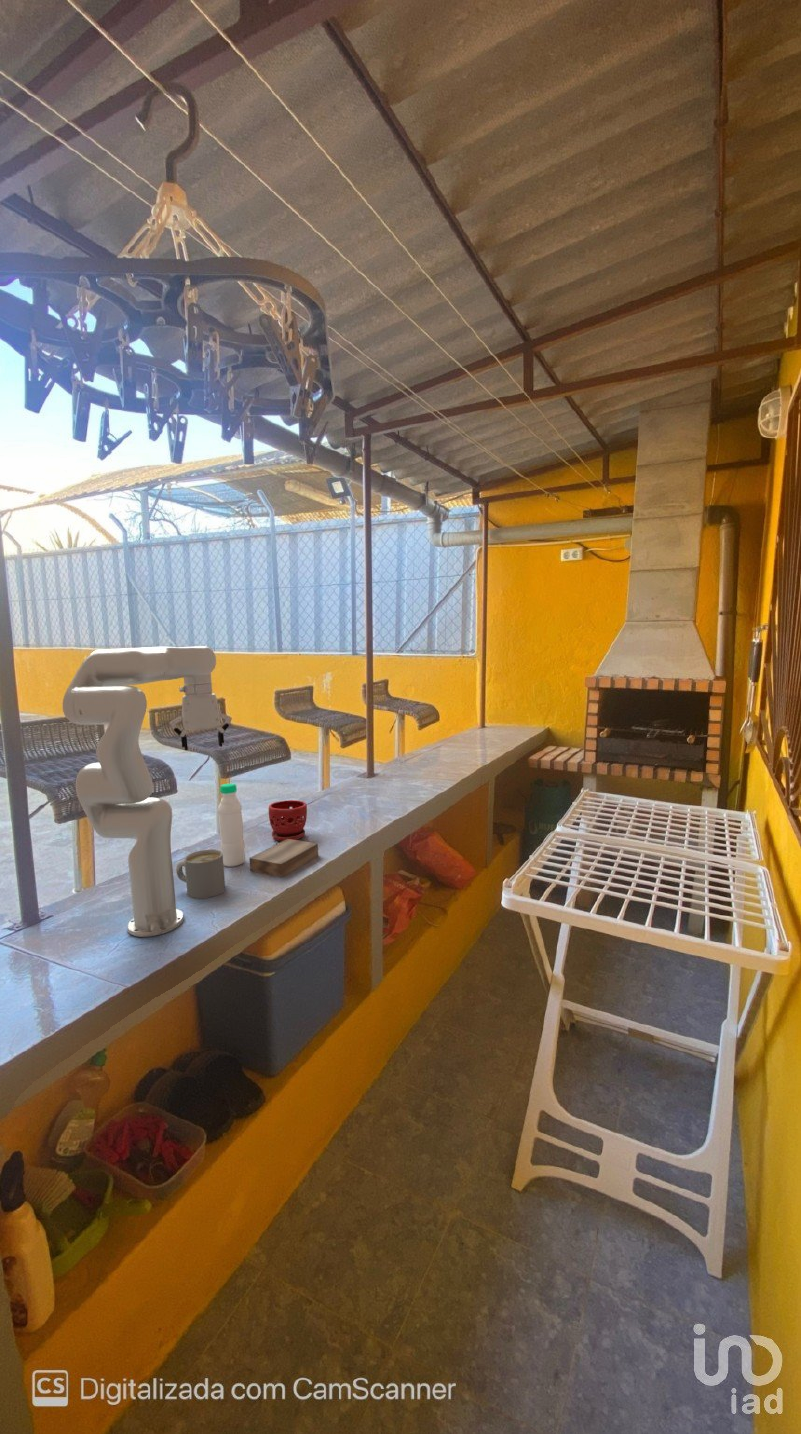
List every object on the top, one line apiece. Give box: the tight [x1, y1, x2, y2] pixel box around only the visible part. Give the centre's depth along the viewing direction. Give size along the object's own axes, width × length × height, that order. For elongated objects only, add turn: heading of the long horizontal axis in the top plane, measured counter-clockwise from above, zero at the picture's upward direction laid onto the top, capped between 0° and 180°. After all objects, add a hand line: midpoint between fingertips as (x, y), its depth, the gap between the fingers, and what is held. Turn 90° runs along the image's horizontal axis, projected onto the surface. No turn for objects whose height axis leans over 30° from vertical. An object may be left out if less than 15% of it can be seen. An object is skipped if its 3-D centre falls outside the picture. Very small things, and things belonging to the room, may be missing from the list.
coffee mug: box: [176, 849, 226, 899], centre depth 155 cm, size 13×10×10 cm
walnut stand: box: [248, 839, 319, 878], centre depth 173 cm, size 12×18×4 cm, turn 153°
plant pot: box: [268, 799, 308, 842], centre depth 196 cm, size 13×13×12 cm
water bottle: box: [217, 783, 246, 868], centre depth 173 cm, size 7×7×25 cm
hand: (203, 747), depth 166 cm, fingers open, 9 cm apart
